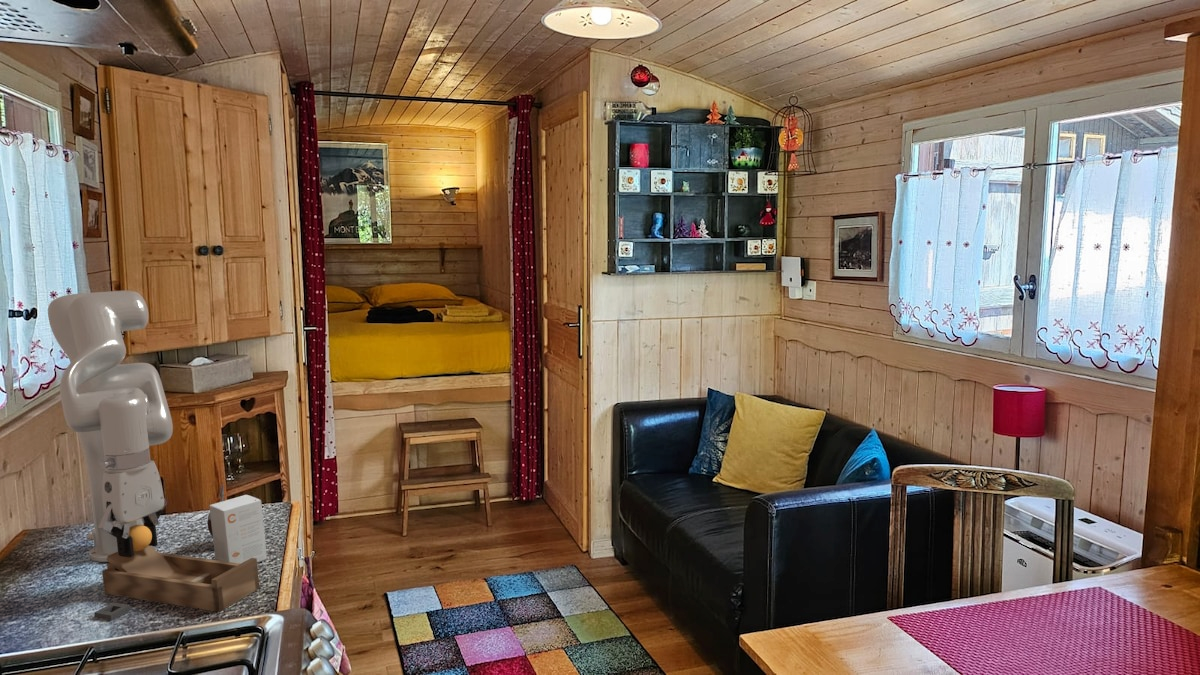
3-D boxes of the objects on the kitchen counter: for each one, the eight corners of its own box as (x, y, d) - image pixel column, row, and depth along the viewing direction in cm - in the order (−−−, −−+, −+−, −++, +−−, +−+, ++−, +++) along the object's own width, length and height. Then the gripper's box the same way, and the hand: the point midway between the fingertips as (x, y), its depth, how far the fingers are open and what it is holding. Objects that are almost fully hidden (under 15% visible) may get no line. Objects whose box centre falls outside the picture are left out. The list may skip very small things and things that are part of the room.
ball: (137, 556, 156) (134, 531, 155) (117, 553, 158) (114, 529, 157) (159, 546, 161) (156, 522, 160) (139, 544, 162) (137, 519, 162)
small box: (252, 552, 175) (247, 493, 173) (267, 559, 171) (262, 499, 169) (214, 565, 169) (208, 504, 167) (229, 573, 165) (223, 510, 163)
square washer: (94, 617, 147) (94, 612, 147) (114, 607, 151) (113, 602, 151) (111, 620, 146) (110, 615, 146) (131, 610, 150) (130, 605, 149)
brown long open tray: (104, 593, 157) (100, 557, 156) (148, 571, 166) (144, 538, 165) (219, 612, 148) (215, 574, 147) (259, 588, 157) (256, 552, 156)
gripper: (102, 474, 148) (114, 570, 150) (179, 448, 163) (188, 536, 166) (72, 471, 150) (84, 566, 153) (150, 446, 166) (160, 532, 168)
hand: (138, 549), depth 159 cm, fingers closed on ball, 4 cm apart
